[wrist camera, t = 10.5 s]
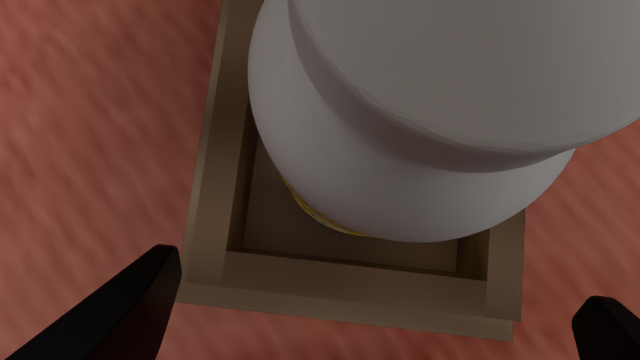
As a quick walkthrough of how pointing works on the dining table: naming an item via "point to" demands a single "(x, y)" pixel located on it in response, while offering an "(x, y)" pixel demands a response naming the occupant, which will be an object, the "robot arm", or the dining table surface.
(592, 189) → the dining table surface
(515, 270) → the walnut collar
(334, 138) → the supplement bottle
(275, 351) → the dining table surface
